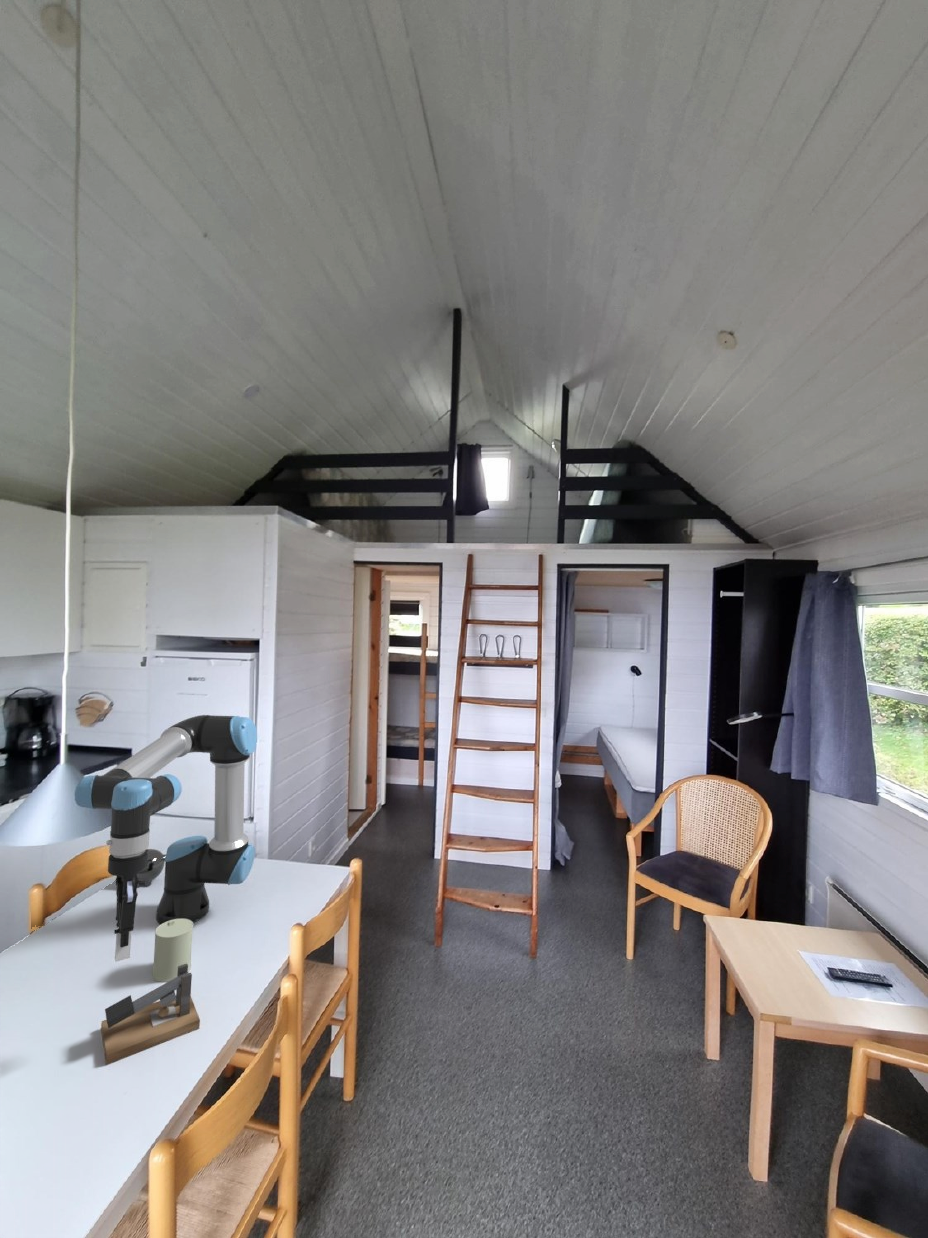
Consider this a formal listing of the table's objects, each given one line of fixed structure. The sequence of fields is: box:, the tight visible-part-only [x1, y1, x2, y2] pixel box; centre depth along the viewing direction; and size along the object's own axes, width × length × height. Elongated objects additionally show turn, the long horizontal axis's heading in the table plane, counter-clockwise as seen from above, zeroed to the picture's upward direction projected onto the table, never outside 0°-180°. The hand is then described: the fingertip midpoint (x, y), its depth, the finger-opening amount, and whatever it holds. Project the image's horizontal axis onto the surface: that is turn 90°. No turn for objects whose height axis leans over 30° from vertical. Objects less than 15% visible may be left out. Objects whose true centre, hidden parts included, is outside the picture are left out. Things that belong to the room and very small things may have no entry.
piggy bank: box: [137, 848, 166, 888], centre depth 189 cm, size 11×15×12 cm
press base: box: [100, 963, 201, 1066], centre depth 122 cm, size 12×18×11 cm, turn 129°
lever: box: [104, 971, 189, 1028], centre depth 122 cm, size 5×17×4 cm, turn 129°
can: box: [151, 919, 194, 983], centre depth 142 cm, size 9×9×12 cm
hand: (122, 958), depth 118 cm, fingers closed
